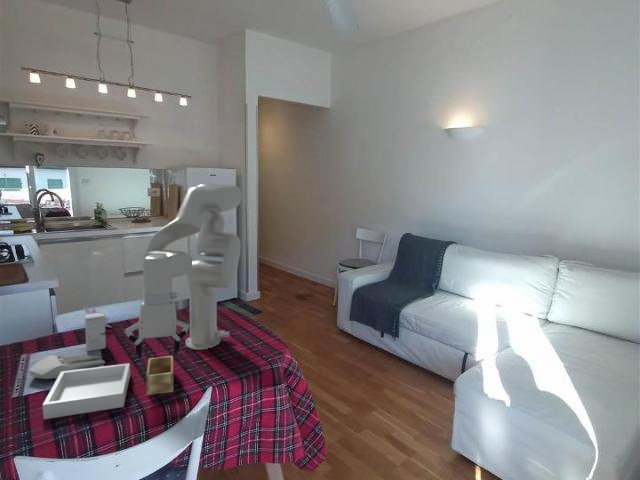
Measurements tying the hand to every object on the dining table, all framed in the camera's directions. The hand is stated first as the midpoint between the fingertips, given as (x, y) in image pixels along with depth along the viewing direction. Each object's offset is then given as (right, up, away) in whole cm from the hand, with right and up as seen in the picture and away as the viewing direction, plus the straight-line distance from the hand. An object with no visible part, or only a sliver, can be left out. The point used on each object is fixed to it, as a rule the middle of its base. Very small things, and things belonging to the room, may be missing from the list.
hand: (158, 354), depth 112 cm
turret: (-32, -8, +8) cm, 34 cm away
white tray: (-17, -10, -5) cm, 20 cm away
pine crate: (0, -10, +2) cm, 10 cm away
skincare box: (-32, -5, +23) cm, 40 cm away
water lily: (-40, -2, +40) cm, 57 cm away
